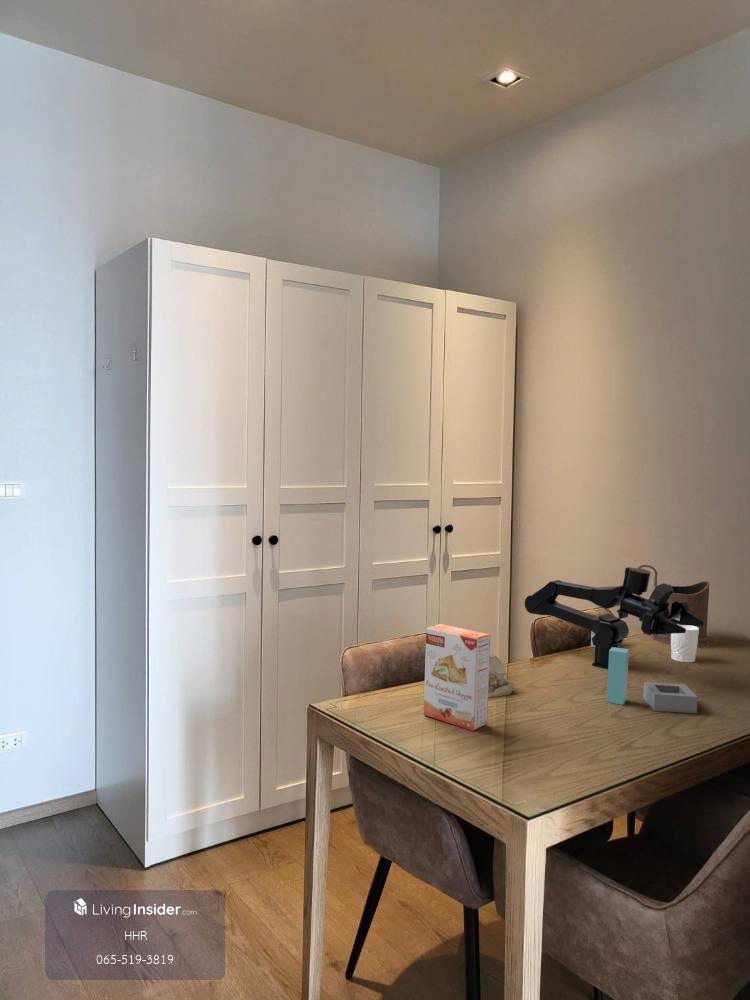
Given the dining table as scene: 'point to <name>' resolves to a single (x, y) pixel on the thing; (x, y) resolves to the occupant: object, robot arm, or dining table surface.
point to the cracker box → (457, 676)
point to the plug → (617, 675)
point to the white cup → (685, 644)
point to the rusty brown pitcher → (697, 605)
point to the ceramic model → (498, 678)
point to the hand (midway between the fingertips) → (694, 627)
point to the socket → (670, 697)
